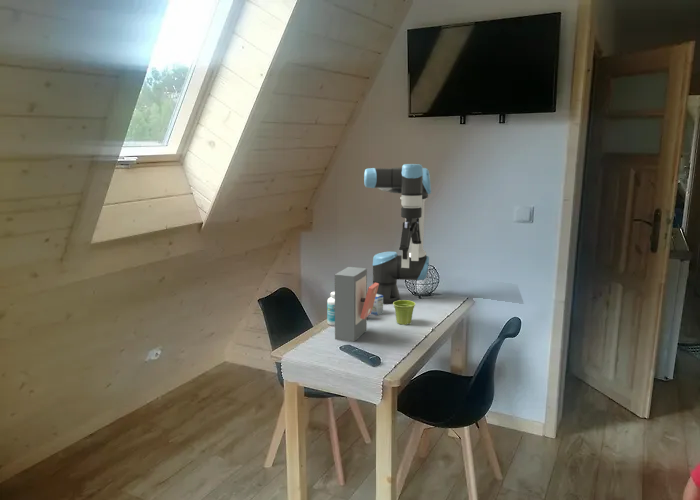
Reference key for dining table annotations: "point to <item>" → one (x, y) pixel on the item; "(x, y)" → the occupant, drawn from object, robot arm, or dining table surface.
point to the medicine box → (378, 305)
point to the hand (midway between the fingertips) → (410, 264)
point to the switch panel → (350, 303)
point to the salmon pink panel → (369, 300)
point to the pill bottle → (331, 309)
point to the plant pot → (404, 311)
